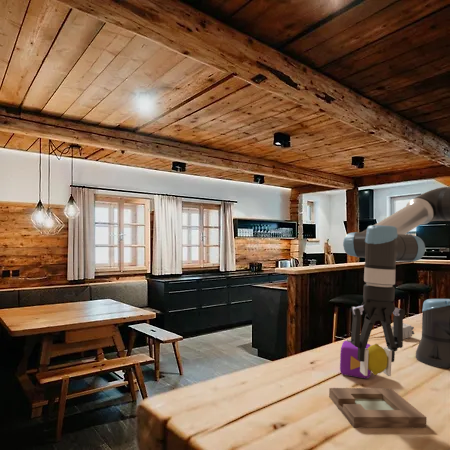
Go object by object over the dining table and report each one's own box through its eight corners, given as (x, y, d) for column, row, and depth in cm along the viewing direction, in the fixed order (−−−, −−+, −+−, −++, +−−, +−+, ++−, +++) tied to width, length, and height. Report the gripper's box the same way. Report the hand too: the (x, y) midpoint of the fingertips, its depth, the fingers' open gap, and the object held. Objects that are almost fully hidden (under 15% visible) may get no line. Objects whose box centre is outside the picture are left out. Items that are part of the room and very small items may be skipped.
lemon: (376, 380, 93) (378, 348, 93) (359, 372, 97) (360, 341, 98) (391, 377, 95) (393, 346, 95) (374, 369, 100) (375, 339, 100)
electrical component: (374, 350, 158) (373, 339, 158) (364, 346, 164) (363, 335, 164) (414, 335, 168) (413, 324, 167) (403, 332, 173) (402, 321, 173)
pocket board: (390, 397, 105) (391, 388, 105) (426, 427, 89) (426, 417, 89) (329, 396, 103) (329, 387, 103) (353, 427, 87) (354, 417, 88)
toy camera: (386, 383, 115) (387, 350, 115) (340, 377, 118) (342, 346, 118) (379, 370, 126) (380, 341, 126) (337, 365, 128) (338, 336, 129)
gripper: (404, 283, 101) (401, 369, 101) (339, 281, 100) (335, 367, 99) (421, 288, 94) (417, 380, 93) (350, 285, 92) (346, 379, 92)
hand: (375, 373), depth 96 cm, fingers closed on lemon, 5 cm apart
